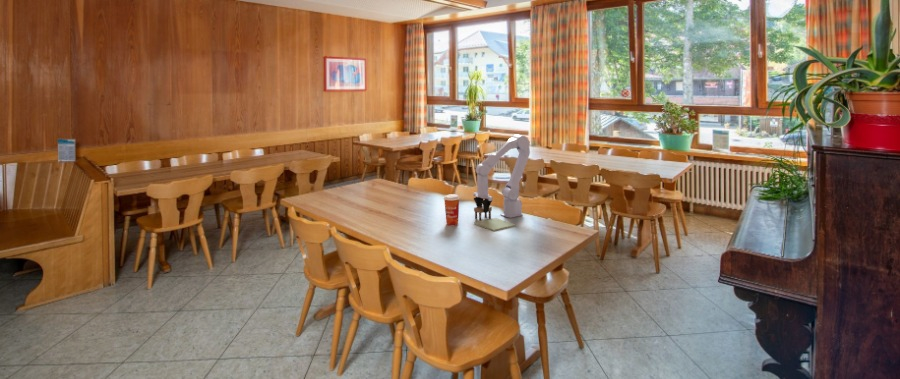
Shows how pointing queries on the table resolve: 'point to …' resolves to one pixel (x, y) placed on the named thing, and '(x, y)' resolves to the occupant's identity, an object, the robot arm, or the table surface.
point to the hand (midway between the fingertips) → (482, 211)
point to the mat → (494, 224)
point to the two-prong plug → (482, 211)
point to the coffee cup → (452, 209)
